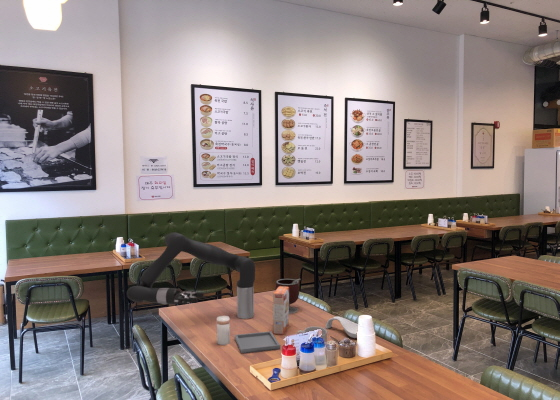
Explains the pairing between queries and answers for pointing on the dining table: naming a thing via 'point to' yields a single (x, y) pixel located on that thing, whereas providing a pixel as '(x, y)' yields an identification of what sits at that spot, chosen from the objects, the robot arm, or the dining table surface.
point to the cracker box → (280, 310)
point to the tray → (257, 342)
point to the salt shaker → (223, 330)
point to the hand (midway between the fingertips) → (200, 297)
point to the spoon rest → (345, 326)
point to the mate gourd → (290, 291)
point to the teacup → (324, 331)
